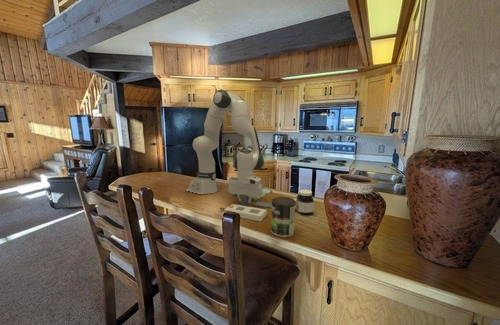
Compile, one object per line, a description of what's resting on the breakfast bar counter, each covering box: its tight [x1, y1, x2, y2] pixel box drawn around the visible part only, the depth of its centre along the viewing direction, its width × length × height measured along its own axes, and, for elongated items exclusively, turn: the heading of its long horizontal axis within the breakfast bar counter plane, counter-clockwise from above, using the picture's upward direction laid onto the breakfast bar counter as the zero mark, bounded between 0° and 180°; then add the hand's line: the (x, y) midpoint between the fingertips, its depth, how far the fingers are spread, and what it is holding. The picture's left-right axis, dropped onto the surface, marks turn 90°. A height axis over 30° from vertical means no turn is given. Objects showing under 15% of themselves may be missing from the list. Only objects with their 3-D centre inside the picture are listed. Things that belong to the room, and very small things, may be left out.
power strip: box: [219, 203, 268, 223], centre depth 111 cm, size 25×9×4 cm, turn 67°
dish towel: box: [233, 186, 273, 202], centre depth 146 cm, size 17×23×4 cm
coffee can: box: [270, 196, 296, 238], centre depth 93 cm, size 10×10×14 cm
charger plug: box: [240, 194, 250, 207], centre depth 121 cm, size 4×4×8 cm
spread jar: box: [293, 189, 315, 216], centre depth 115 cm, size 12×11×12 cm
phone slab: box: [252, 200, 272, 209], centre depth 125 cm, size 14×7×1 cm, turn 69°
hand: (244, 202), depth 121 cm, fingers closed on charger plug, 3 cm apart
